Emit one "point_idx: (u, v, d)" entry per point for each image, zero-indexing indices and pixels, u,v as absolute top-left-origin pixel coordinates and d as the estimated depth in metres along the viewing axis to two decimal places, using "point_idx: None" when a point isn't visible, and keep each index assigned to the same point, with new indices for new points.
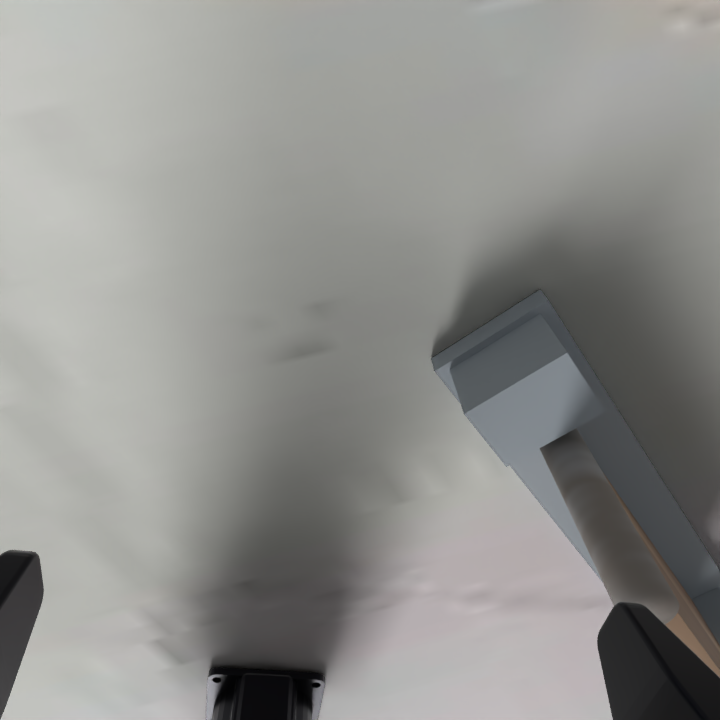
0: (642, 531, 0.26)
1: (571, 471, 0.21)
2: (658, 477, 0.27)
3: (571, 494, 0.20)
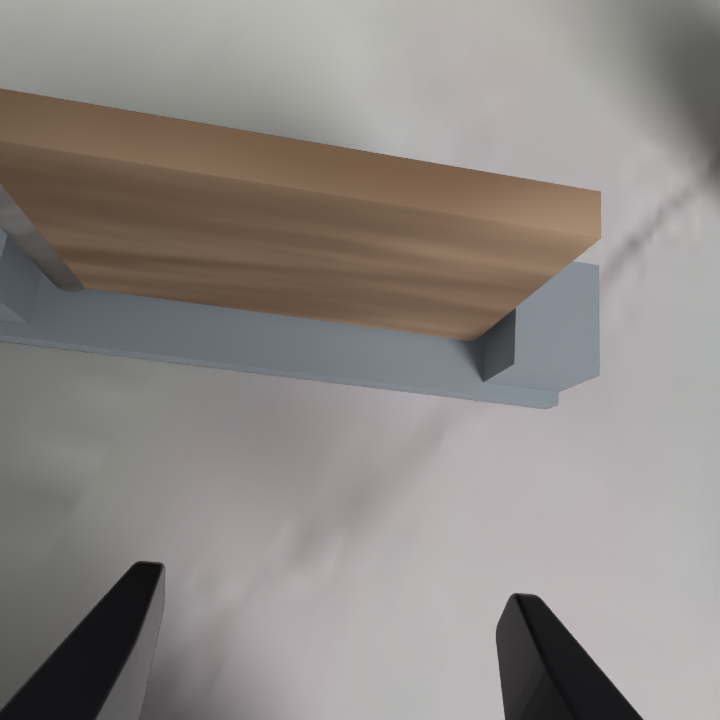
0: None
1: None
2: None
3: None
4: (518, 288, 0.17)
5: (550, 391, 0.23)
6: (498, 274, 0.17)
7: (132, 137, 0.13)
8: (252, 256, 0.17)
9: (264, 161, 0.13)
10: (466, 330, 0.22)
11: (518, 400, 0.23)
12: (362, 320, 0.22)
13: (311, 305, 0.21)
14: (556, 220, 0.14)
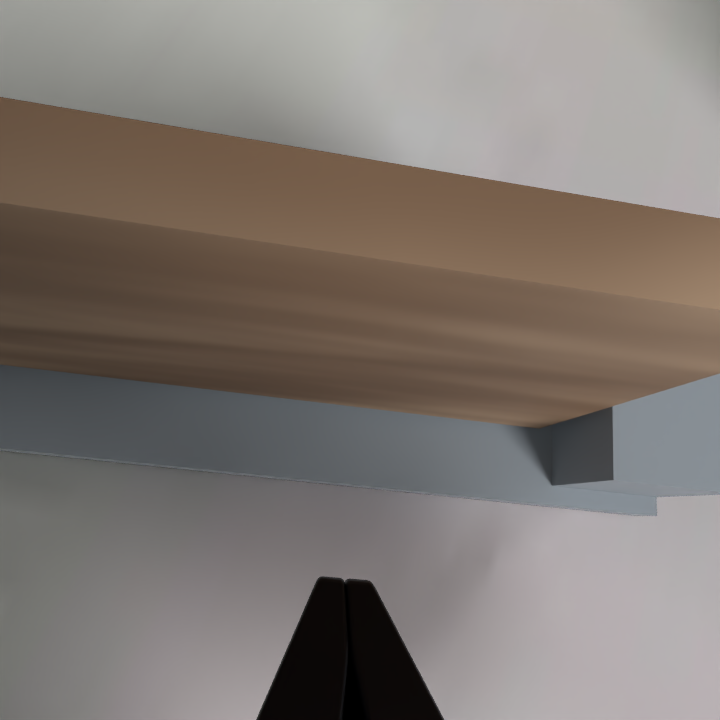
0: None
1: None
2: None
3: None
4: (644, 384, 0.11)
5: (645, 496, 0.16)
6: (620, 369, 0.10)
7: None
8: (208, 335, 0.10)
9: (209, 188, 0.07)
10: (534, 419, 0.15)
11: (601, 510, 0.16)
12: (382, 405, 0.15)
13: (308, 389, 0.14)
14: None
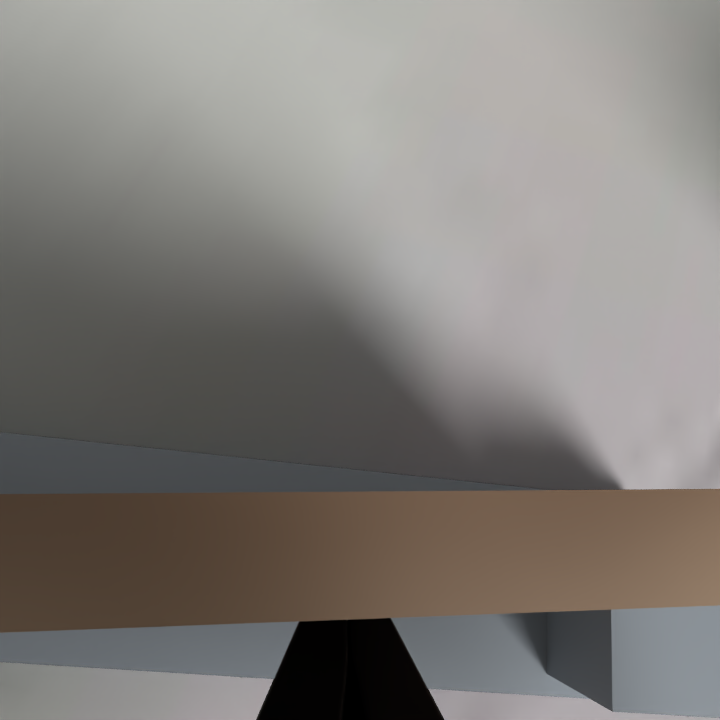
0: None
1: None
2: (212, 457, 0.15)
3: None
4: None
5: None
6: None
7: None
8: None
9: (140, 567, 0.06)
10: None
11: None
12: None
13: None
14: None
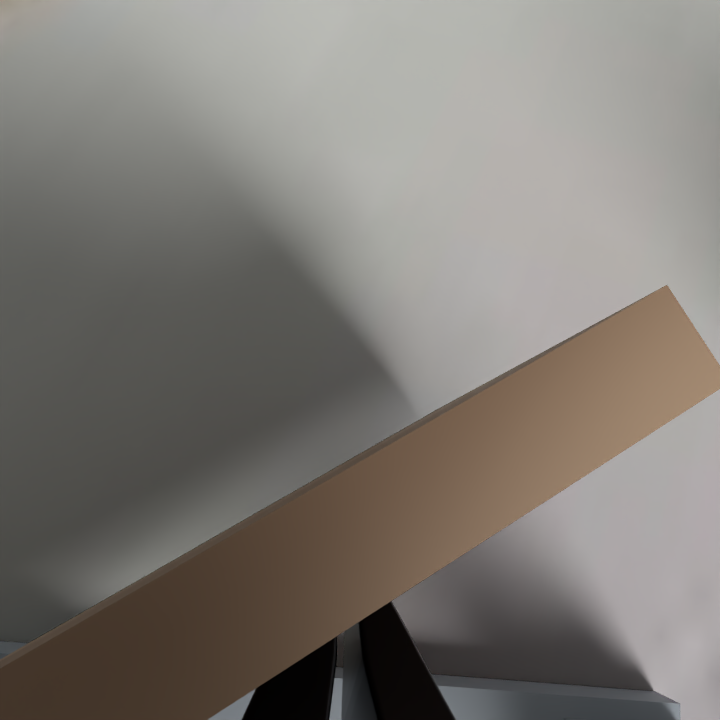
0: None
1: None
2: None
3: None
4: None
5: None
6: None
7: None
8: None
9: None
10: None
11: None
12: None
13: None
14: (638, 411, 0.06)
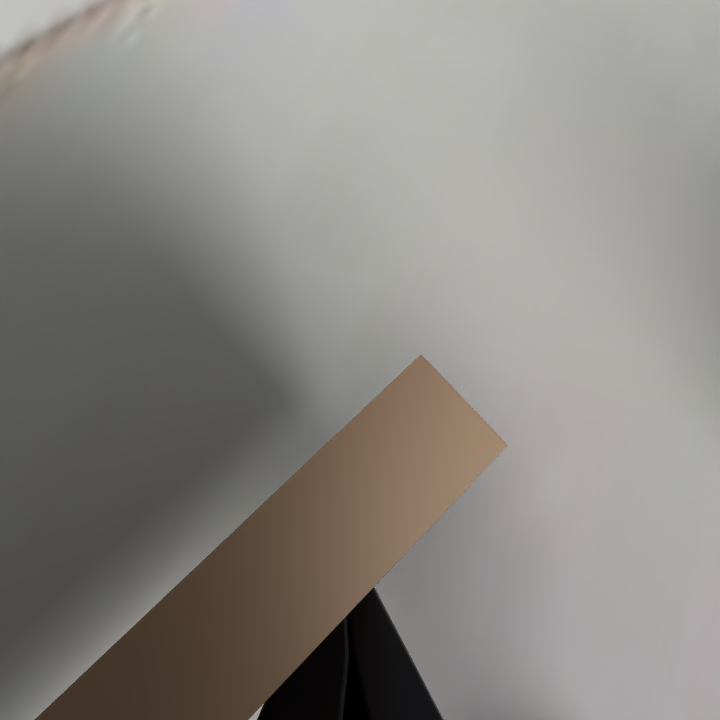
0: None
1: None
2: None
3: None
4: None
5: None
6: None
7: None
8: None
9: None
10: None
11: None
12: None
13: None
14: (409, 507, 0.06)
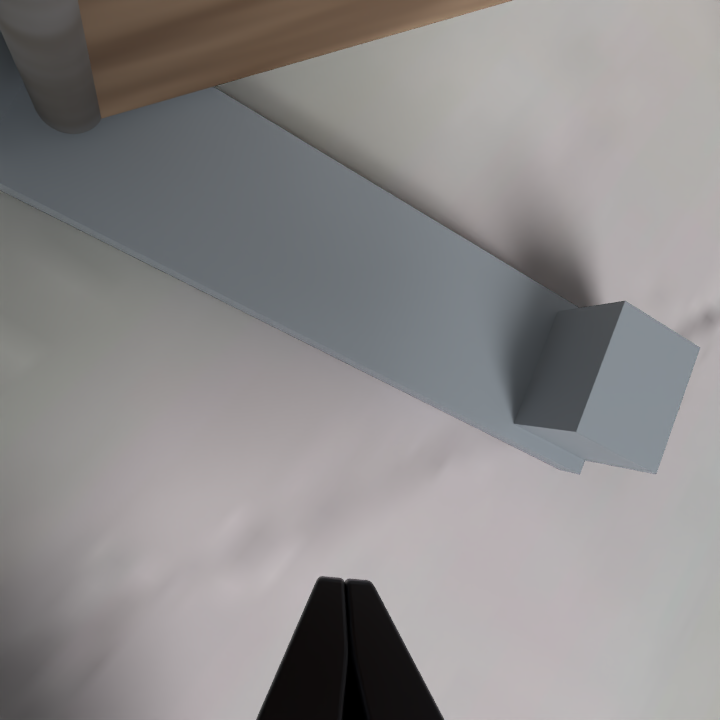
0: None
1: (0, 25, 0.11)
2: (326, 158, 0.17)
3: (3, 18, 0.10)
4: None
5: (577, 457, 0.20)
6: None
7: None
8: None
9: None
10: None
11: (541, 455, 0.20)
12: (432, 14, 0.17)
13: (388, 12, 0.16)
14: None
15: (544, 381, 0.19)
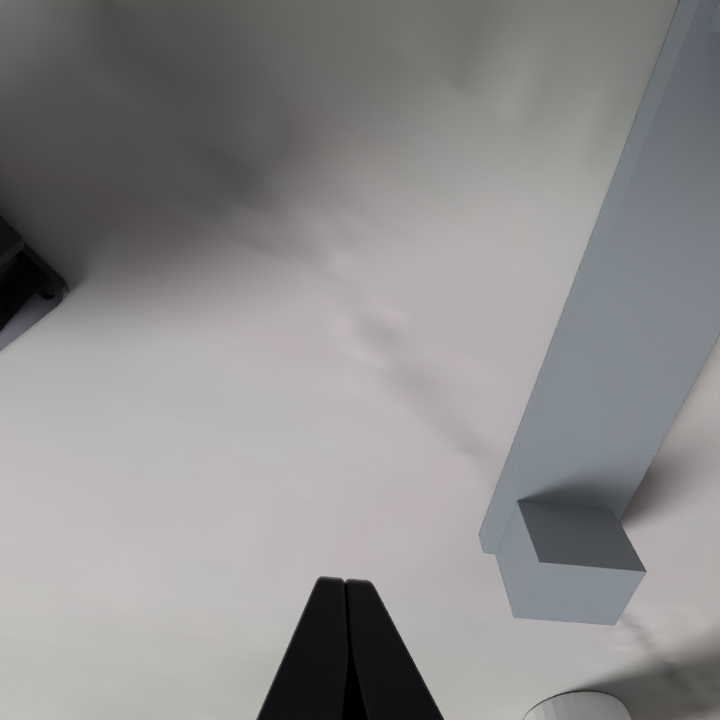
0: None
1: None
2: None
3: None
4: None
5: (497, 548, 0.25)
6: None
7: None
8: None
9: None
10: None
11: (493, 523, 0.24)
12: None
13: None
14: None
15: (559, 518, 0.23)
